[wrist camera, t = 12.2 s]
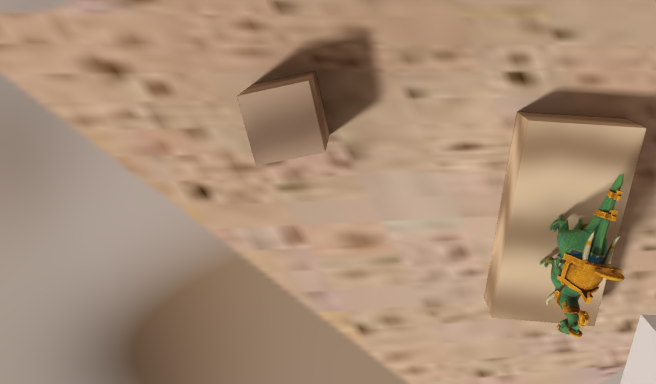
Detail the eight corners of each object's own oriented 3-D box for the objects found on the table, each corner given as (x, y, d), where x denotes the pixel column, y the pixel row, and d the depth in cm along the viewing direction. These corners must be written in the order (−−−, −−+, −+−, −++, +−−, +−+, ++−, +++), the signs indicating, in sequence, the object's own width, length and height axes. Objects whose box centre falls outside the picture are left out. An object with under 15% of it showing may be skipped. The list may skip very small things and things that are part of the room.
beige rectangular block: (517, 111, 40) (528, 120, 37) (626, 118, 39) (646, 128, 36) (484, 297, 45) (492, 317, 42) (579, 305, 45) (594, 326, 42)
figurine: (522, 295, 41) (557, 362, 34) (570, 148, 37) (622, 187, 30) (561, 301, 41) (605, 370, 34) (613, 156, 37) (677, 196, 30)
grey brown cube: (251, 85, 40) (236, 96, 36) (315, 70, 40) (308, 80, 35) (268, 147, 42) (256, 165, 37) (329, 134, 41) (324, 152, 37)
